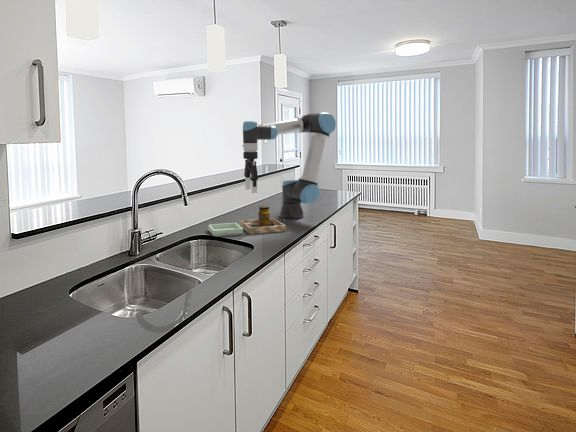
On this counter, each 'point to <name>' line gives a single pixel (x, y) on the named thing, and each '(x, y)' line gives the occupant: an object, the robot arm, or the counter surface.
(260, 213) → the condiment
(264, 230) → the brown wooden tray
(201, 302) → the counter surface
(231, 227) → the green tray
